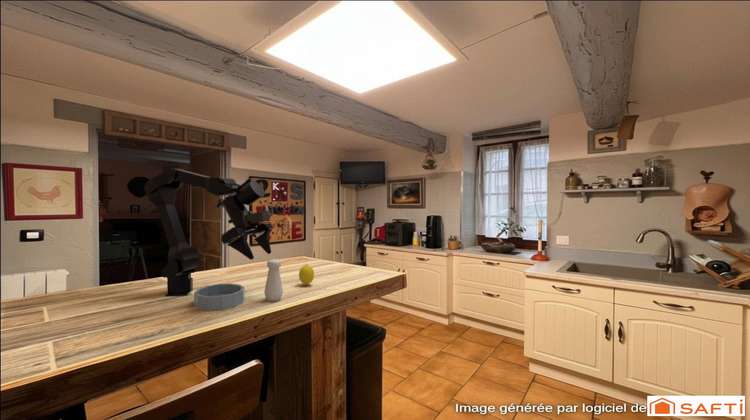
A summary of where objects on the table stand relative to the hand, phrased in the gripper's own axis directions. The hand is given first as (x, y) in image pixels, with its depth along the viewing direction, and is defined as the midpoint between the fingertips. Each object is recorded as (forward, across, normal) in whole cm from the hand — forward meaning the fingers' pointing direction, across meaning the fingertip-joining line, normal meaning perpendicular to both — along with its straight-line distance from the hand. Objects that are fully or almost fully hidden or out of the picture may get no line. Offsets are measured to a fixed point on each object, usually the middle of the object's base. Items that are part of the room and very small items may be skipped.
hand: (261, 256), depth 98 cm
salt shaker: (+14, +4, +7) cm, 16 cm away
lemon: (+15, +22, +4) cm, 27 cm away
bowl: (+6, -3, +18) cm, 20 cm away
